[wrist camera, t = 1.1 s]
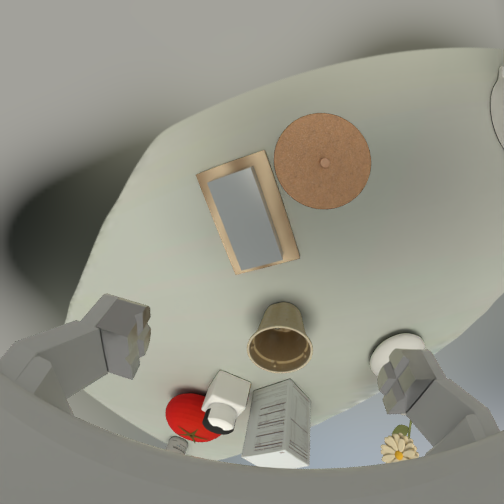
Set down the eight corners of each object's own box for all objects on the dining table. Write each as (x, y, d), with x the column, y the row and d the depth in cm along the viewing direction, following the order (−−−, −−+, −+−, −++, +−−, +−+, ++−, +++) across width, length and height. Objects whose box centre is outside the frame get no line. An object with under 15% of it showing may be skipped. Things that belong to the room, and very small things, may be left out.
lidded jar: (267, 179, 38) (258, 192, 29) (292, 106, 33) (291, 96, 25) (340, 206, 37) (352, 228, 29) (367, 136, 33) (389, 136, 24)
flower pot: (315, 295, 43) (317, 329, 36) (307, 339, 47) (307, 375, 39) (256, 290, 45) (247, 323, 37) (254, 335, 48) (246, 370, 41)
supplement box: (252, 389, 55) (238, 456, 39) (290, 377, 52) (284, 449, 36) (276, 411, 57) (267, 473, 42) (312, 400, 54) (310, 466, 39)
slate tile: (253, 165, 36) (250, 167, 34) (283, 252, 40) (282, 260, 38) (212, 179, 38) (207, 182, 35) (244, 263, 42) (241, 270, 40)
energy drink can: (192, 443, 71) (179, 481, 57) (180, 445, 73) (167, 481, 59) (178, 434, 70) (163, 473, 56) (167, 436, 72) (152, 472, 58)
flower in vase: (396, 319, 43) (440, 440, 20) (432, 340, 44) (476, 444, 21) (350, 365, 48) (363, 482, 26) (389, 381, 49) (410, 484, 27)
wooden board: (264, 149, 36) (263, 150, 35) (299, 255, 41) (299, 258, 40) (198, 173, 38) (195, 174, 38) (237, 271, 44) (235, 274, 43)
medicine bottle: (238, 398, 57) (227, 441, 46) (208, 385, 56) (193, 428, 45) (251, 382, 54) (241, 428, 43) (220, 368, 53) (204, 414, 42)
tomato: (171, 404, 62) (158, 435, 53) (175, 377, 57) (159, 412, 48) (224, 422, 62) (215, 455, 53) (236, 398, 57) (227, 435, 47)
